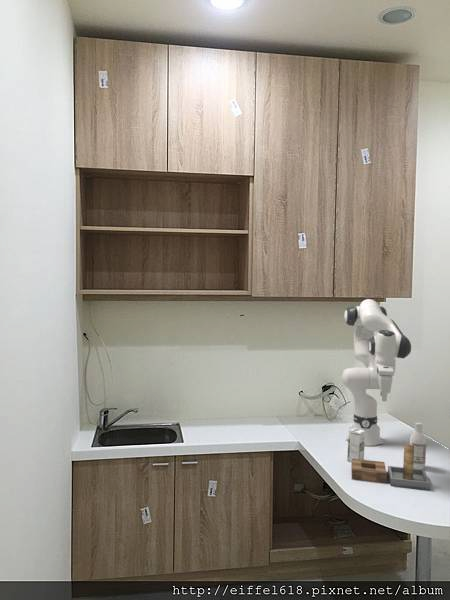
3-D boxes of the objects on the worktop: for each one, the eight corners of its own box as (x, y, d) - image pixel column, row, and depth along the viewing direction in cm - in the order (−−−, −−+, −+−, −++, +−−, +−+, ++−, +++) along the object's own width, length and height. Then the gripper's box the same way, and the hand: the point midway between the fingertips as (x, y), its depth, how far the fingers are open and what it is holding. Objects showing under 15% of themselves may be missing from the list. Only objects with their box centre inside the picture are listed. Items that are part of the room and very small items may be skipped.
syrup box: (352, 457, 237) (353, 427, 236) (364, 461, 233) (365, 430, 233) (347, 461, 232) (348, 430, 232) (359, 464, 229) (360, 432, 228)
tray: (387, 472, 219) (388, 465, 219) (424, 476, 216) (424, 469, 216) (390, 485, 205) (390, 478, 205) (429, 490, 201) (430, 483, 201)
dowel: (402, 476, 213) (403, 443, 212) (412, 477, 212) (413, 444, 211) (403, 479, 209) (404, 446, 208) (413, 481, 208) (414, 447, 207)
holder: (351, 467, 224) (351, 458, 224) (383, 470, 221) (384, 462, 221) (351, 479, 211) (352, 469, 211) (386, 483, 208) (386, 473, 207)
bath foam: (427, 469, 224) (429, 425, 223) (412, 469, 224) (414, 425, 223) (420, 464, 231) (422, 421, 230) (406, 464, 231) (408, 421, 230)
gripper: (375, 362, 231) (374, 392, 232) (378, 371, 211) (377, 403, 212) (390, 363, 230) (388, 393, 231) (394, 372, 210) (392, 404, 211)
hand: (383, 398), depth 221 cm, fingers open, 8 cm apart
